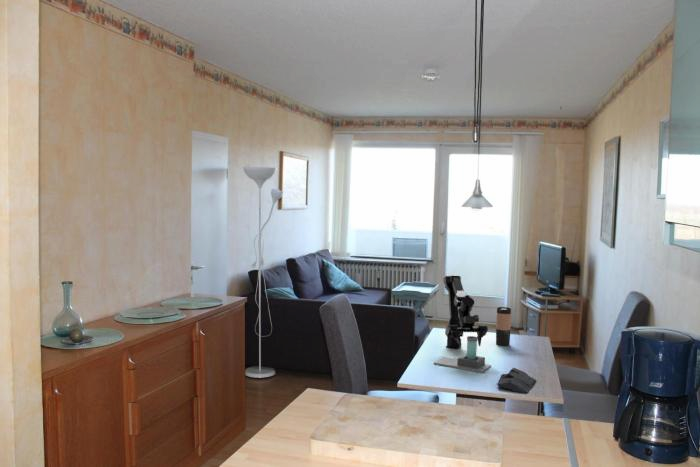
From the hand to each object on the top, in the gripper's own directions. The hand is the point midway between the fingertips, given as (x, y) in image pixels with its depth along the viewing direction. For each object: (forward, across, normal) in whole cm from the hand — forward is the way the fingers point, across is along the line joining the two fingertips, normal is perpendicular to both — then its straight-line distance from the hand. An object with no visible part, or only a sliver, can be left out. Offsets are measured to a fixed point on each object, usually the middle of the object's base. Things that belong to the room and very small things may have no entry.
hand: (470, 345), depth 277 cm
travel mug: (-21, +29, +35) cm, 50 cm away
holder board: (+7, -4, +6) cm, 10 cm away
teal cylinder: (+8, 0, +4) cm, 9 cm away
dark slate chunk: (+27, +12, -14) cm, 33 cm away
